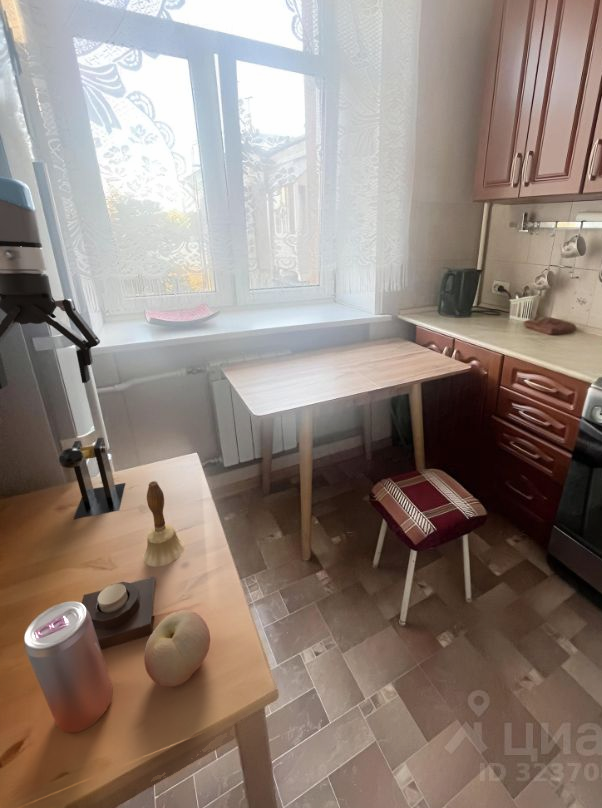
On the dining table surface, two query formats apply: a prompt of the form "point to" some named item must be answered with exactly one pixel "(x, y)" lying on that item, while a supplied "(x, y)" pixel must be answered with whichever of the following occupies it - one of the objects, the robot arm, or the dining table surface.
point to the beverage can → (69, 665)
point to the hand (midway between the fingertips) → (45, 384)
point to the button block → (124, 614)
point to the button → (112, 598)
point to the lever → (75, 456)
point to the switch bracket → (100, 497)
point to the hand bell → (160, 532)
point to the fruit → (176, 648)
